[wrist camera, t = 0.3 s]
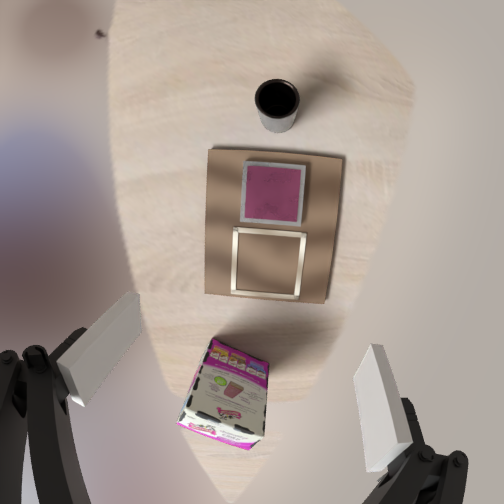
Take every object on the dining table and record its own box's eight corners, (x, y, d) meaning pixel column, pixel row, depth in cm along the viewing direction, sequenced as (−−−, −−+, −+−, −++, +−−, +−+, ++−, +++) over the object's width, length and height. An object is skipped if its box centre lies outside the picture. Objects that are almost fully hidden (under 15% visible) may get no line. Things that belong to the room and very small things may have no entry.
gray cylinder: (299, 111, 34) (307, 90, 24) (285, 138, 35) (288, 126, 25) (269, 97, 33) (266, 72, 24) (255, 124, 35) (246, 107, 25)
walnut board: (210, 149, 36) (207, 149, 35) (340, 159, 35) (342, 159, 34) (206, 290, 42) (204, 293, 41) (323, 301, 41) (324, 304, 40)
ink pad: (244, 161, 35) (243, 160, 34) (305, 165, 35) (306, 165, 33) (241, 220, 38) (239, 222, 36) (300, 224, 37) (300, 227, 36)
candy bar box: (201, 356, 46) (173, 424, 30) (211, 336, 45) (184, 406, 29) (257, 380, 47) (248, 452, 31) (270, 363, 45) (265, 437, 30)
